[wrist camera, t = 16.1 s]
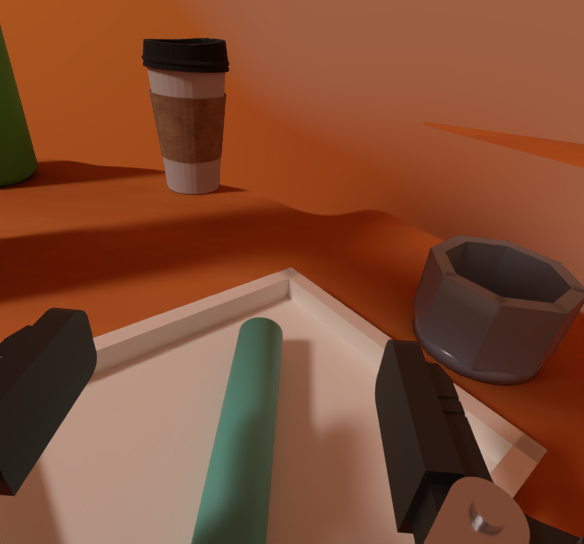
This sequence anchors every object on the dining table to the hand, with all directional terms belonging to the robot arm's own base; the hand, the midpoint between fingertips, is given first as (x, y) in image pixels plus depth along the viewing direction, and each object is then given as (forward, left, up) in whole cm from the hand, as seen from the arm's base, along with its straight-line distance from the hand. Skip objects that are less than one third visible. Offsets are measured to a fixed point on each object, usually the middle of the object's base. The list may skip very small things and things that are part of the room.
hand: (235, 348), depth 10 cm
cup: (0, +19, -9) cm, 21 cm away
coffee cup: (-34, +16, -9) cm, 38 cm away
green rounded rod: (-6, +6, -7) cm, 11 cm away
